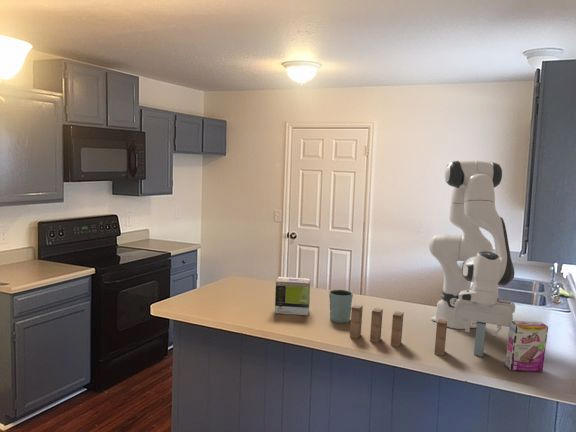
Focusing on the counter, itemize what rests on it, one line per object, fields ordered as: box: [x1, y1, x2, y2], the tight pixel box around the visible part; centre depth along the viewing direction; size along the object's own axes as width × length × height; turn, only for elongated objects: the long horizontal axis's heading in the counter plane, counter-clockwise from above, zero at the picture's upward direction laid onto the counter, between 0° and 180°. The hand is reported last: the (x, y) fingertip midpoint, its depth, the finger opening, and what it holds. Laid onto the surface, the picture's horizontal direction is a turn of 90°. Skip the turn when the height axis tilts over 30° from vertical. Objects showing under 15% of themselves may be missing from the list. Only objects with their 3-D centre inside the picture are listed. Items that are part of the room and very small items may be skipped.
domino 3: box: [390, 310, 405, 348], centre depth 185 cm, size 5×3×12 cm, turn 156°
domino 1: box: [349, 303, 364, 340], centre depth 192 cm, size 5×3×12 cm, turn 156°
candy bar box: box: [504, 320, 549, 373], centre depth 167 cm, size 11×5×16 cm, turn 92°
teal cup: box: [328, 289, 354, 324], centre depth 211 cm, size 10×10×12 cm
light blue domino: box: [473, 321, 487, 357], centre depth 180 cm, size 5×3×12 cm, turn 156°
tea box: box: [274, 276, 311, 316], centre depth 219 cm, size 15×10×15 cm
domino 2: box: [369, 307, 384, 344], centre depth 189 cm, size 5×3×12 cm, turn 156°
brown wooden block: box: [434, 318, 448, 356], centre depth 179 cm, size 5×3×12 cm, turn 156°
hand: (480, 333), depth 179 cm, fingers open, 8 cm apart
